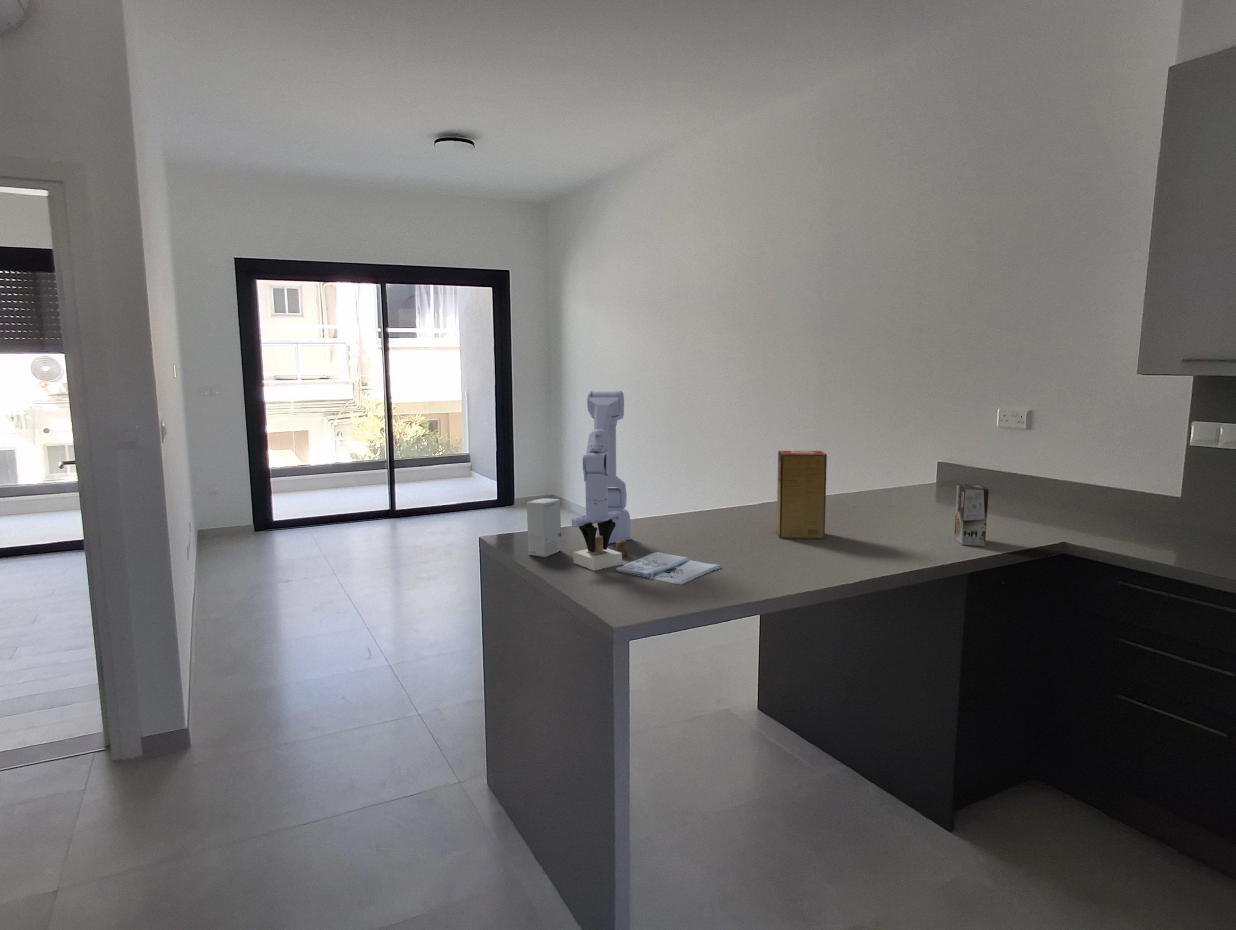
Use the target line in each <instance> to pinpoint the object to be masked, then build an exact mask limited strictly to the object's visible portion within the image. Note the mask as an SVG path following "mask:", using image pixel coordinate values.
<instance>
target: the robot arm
mask: <svg viewBox="0 0 1236 930" xmlns="http://www.w3.org/2000/svg"><path fill="white" fill-rule="evenodd" d="M624 396H625V395H624V392H623V391H621V390H618V391H593V390H590V391H589V392H588V394H587V397H586V398H587V399H586V400H587V401H586V402H587V403H586V404H587V411H588V412H589V415H590V418H592V419H594V420H593V431H591V432H590V433H589V434H588V439H587V448H586V454H583V456H582V472H583V482H585V485H584V486H585V487H584V488H585V515H581V516H578V517H576V518H571V527H573V528H578V529H579V530H580V532H581V534H582V537H583V539H584V542H585V545H586V549H588V551H589V552H595V537H596V536H597V535H598V536H603V549H604V550H607V548H608V547H609V544H614V543H616V541H618V540H625V541H628V540H632V539H633V537H632V536H631V516H630V513H629V511H628V509H626V507H627V498H628V497H627V487H626V486H627V485H626V483H625V481H623V479H621V478H620V477H618V476H617V428H616V427H617V425H618V421H620V420H622V419H624V415H625V397H624ZM594 524H596V526H597V527H596V526H594Z"/></svg>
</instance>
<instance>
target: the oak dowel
mask: <svg viewBox="0 0 1236 930" xmlns="http://www.w3.org/2000/svg"><path fill="white" fill-rule="evenodd" d="M602 554H603V536H598V535H597V534H596V537H595V552H592V555H595V556H597V555H602Z"/></svg>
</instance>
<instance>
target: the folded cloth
mask: <svg viewBox="0 0 1236 930" xmlns="http://www.w3.org/2000/svg"><path fill="white" fill-rule="evenodd" d="M675 567H677V572H674V571H670V572H671V573H666V572H668V571H669V570H673V568H674V569H675ZM717 569H718V570H721V564H715V563H714V564H713V563H705V562H701V561H696V560H692V559H691V560H690V558H689V557H687V556H679V555H675V554H669V553H664V552H660V551H659V552H658V551H656V552H653V553H649V554H647V555H646V556H643V557H641V558H639V559H636V560H633V561H631V562H628V563H626V564H625V565H622V566H621V565H620V566H618V567H617V568H615V570H616V571H618V573H623V574H627V575H633V576H636V575H637V576H638V577H641V576H642V578H645V577H646V579H649V580H650V581H651V580H654V579H655V581H661V582H664V583H668V584H674V585H678V586H679V585H680V586H683V585H685V584H687V583H689V582H691V581H693V580H696V579H698V578H700V577H703V576H705V575H707V574H708V573H709V574H710V573H711V572H712V571H713V570H715V571H718V570H717ZM665 571H666V572H665ZM713 572H714V571H713ZM706 573H707V574H706ZM704 574H705V575H704ZM702 575H703V576H702ZM637 576H636V577H637ZM699 576H700V577H699ZM697 577H698V578H697ZM695 578H696V579H695Z"/></svg>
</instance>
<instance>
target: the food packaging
mask: <svg viewBox="0 0 1236 930" xmlns="http://www.w3.org/2000/svg"><path fill="white" fill-rule="evenodd" d="M827 462H828V456H827V453H826V452H823V451H822V450H778V453H777V492H776V498H777V499H776V530H775V531H776V534H777V536H778V538H780V539H793V540H794V539H795V540H796V539H799V540H800V539H801V540H803V539H804V540H805V539H807V540H808V539H809V540H812V539H813V540H825V539H826V538H825V536H826V535H825V534H826V533H825V532H826V531H825V529H826V501H827V500H826V499H827V498H826V497H827Z"/></svg>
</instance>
